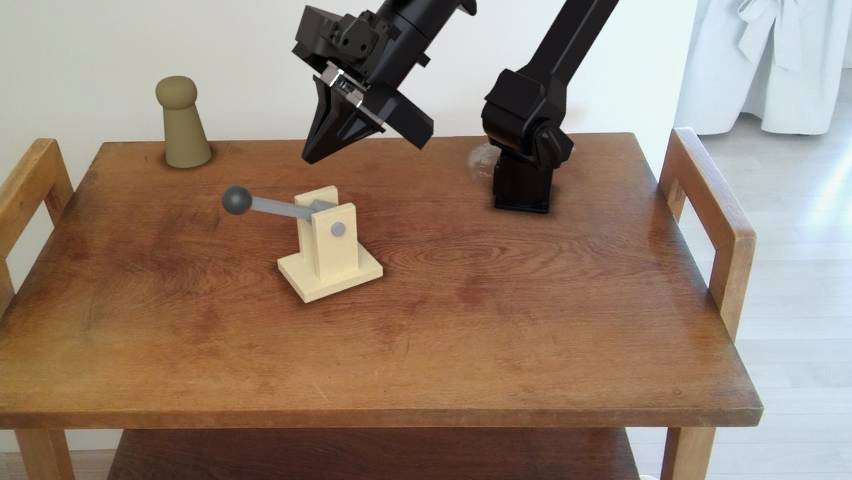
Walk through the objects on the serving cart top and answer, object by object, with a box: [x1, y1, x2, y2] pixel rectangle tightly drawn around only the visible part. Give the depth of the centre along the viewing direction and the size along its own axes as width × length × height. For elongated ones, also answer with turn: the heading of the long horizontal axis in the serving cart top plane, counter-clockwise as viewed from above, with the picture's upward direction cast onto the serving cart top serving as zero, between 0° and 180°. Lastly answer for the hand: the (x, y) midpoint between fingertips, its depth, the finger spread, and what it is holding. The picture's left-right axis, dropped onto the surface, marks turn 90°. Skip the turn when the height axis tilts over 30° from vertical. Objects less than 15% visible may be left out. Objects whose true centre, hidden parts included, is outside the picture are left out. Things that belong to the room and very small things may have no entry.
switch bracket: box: [276, 184, 384, 304], centre depth 79 cm, size 9×7×9 cm
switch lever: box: [221, 184, 339, 226], centre depth 74 cm, size 13×3×3 cm, turn 119°
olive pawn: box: [154, 75, 212, 169], centre depth 100 cm, size 6×6×11 cm
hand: (306, 161), depth 73 cm, fingers closed
